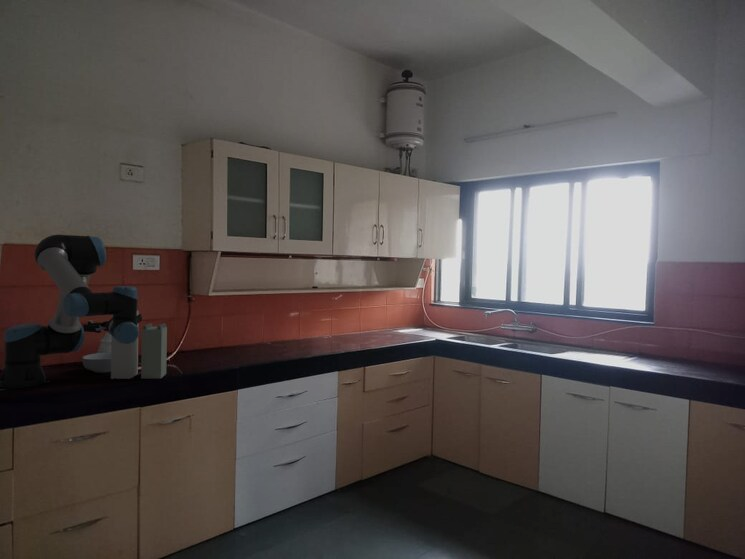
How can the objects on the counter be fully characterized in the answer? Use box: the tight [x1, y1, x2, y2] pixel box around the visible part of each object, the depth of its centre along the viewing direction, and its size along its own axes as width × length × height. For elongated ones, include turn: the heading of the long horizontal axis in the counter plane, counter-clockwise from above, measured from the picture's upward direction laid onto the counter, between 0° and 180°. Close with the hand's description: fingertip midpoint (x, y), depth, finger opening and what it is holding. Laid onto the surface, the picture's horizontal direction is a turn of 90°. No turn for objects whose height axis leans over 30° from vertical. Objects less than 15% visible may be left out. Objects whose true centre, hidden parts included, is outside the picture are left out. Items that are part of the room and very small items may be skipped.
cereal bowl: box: [81, 352, 111, 374], centre depth 224 cm, size 17×17×7 cm
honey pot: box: [96, 331, 111, 353], centre depth 238 cm, size 13×13×18 cm
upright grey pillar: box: [140, 322, 168, 380], centre depth 217 cm, size 8×9×22 cm
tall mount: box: [110, 310, 140, 380], centre depth 215 cm, size 8×9×29 cm
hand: (110, 320), depth 198 cm, fingers open, 13 cm apart
